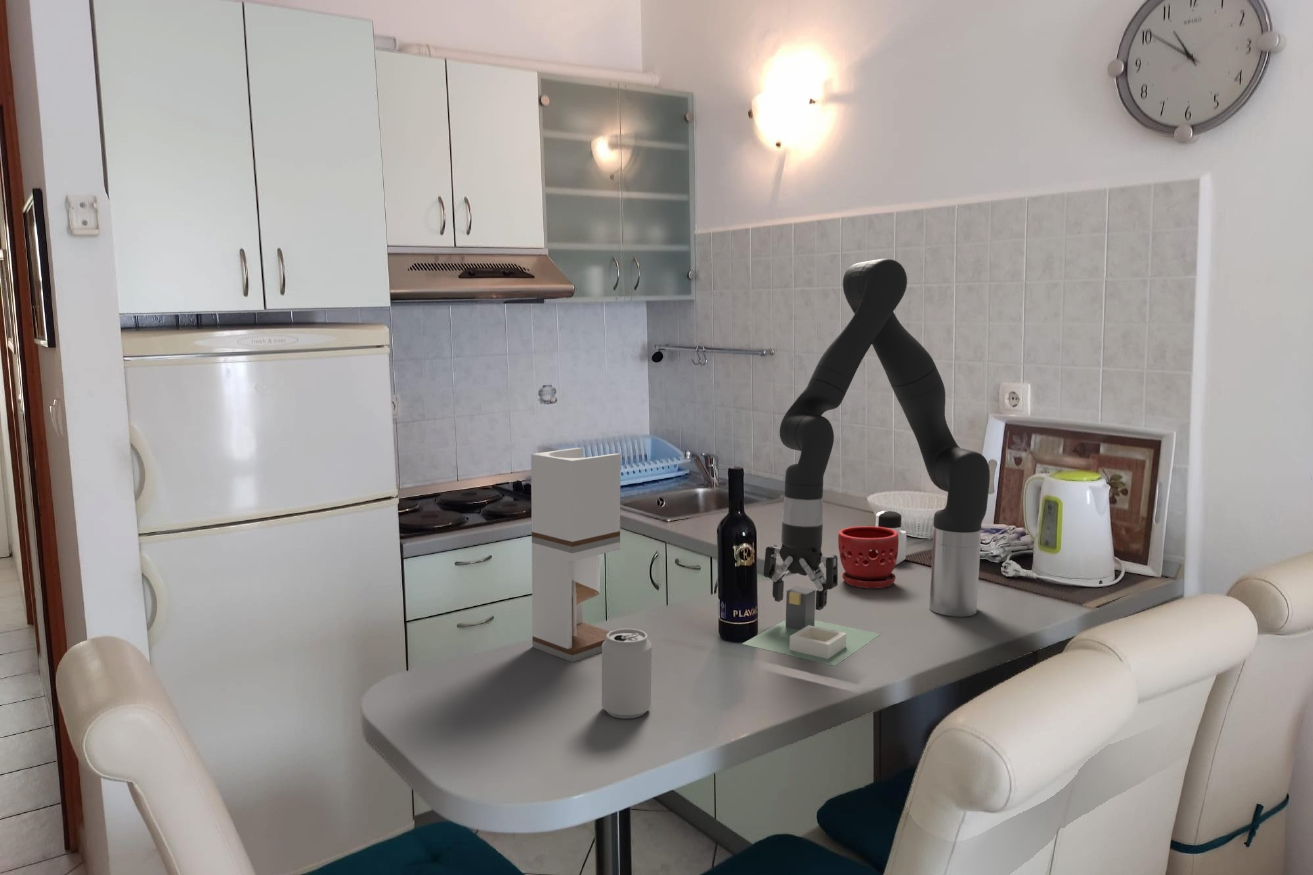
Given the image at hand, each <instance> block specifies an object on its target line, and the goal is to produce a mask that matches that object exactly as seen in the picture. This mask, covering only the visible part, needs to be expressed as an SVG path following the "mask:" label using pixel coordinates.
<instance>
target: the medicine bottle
mask: <svg viewBox="0 0 1313 875" xmlns="http://www.w3.org/2000/svg"><path fill="white" fill-rule="evenodd" d="M875 527H884V528H889V529H892V530H895V531H897V533H898V539H899V544H898V555H897V560H896V564H895V566H897V565H898V564H900V563H902V562H904V561H905V559H906V552H907V531H905V530H902V514H901V513H898V512H897V511H891V510H882V511H881V510H880V511H879V512H877V513H876V514H875ZM870 551H872V550H870ZM876 552H877V553H878V551H877V550H876Z"/></svg>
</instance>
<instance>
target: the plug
mask: <svg viewBox="0 0 1313 875" xmlns="http://www.w3.org/2000/svg"><path fill="white" fill-rule="evenodd" d="M785 597H786V600H785V602H786V603H785V620H786V627H788V628H793V629H797V630H801V629H803V628H805V627H806V626H808V625H810V626H814V620H816V618H815V617H816V616H815V614H816V589H813V588H810V587H809V588H808V587H804V586H798V585H796V586H794V587H792V588H790V589H787V590H786V596H785Z"/></svg>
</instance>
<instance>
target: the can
mask: <svg viewBox="0 0 1313 875" xmlns="http://www.w3.org/2000/svg"><path fill="white" fill-rule="evenodd" d="M606 637H607V639H606V640H605V641H604V642H603V644H602V652H601V707H602V709H603V710H604V711H606V712H607V714H608V715H610V717H614V718H618V719H635V718H639V717H642V716H643V715H645V714H646V712H647V711H648V710H650V709H651V706H652V675H653V674H652V671H653V670H652V664H653V662H652V659H653V658H652V656H653V654H652V652H653V644H652V643H651V641H650V640H649V639H648V637H649V636H648V634H647V633H646V632H645V631H643V630H640V629H638V628H637V629H636V628H618V629H614V630H611V631H610V632H609V633H607V635H606Z"/></svg>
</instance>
